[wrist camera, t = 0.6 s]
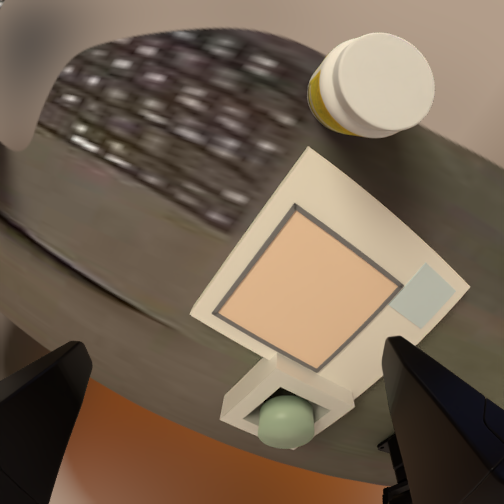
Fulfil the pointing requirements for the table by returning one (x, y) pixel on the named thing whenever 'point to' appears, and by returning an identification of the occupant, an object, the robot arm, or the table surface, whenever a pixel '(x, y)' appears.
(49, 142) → the table surface
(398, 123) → the supplement bottle
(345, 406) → the button box
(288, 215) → the colouring board
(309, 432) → the button
